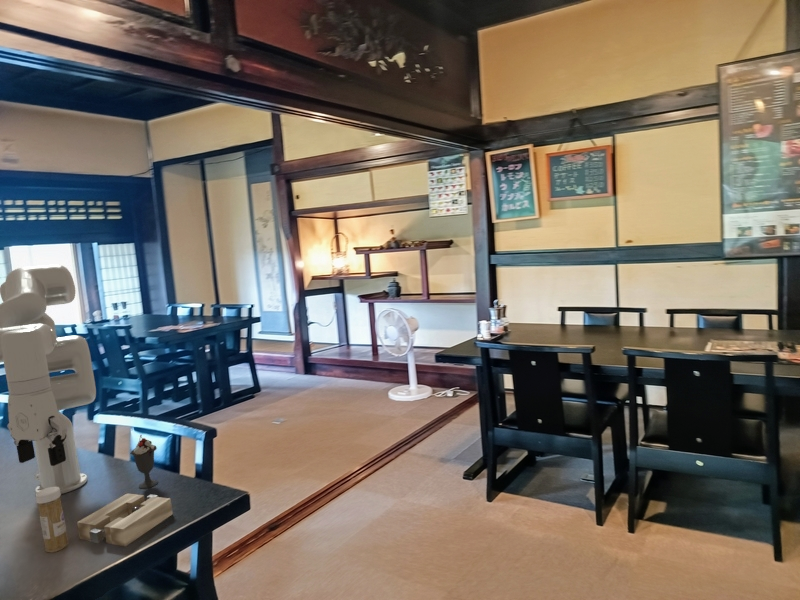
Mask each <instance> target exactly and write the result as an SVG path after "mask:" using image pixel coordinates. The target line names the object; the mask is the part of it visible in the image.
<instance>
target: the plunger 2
mask: <svg viewBox="0 0 800 600" xmlns="http://www.w3.org/2000/svg"><path fill="white" fill-rule="evenodd" d="M151 497H159V495H157V494H149V495H147V496H146V500H148V499H149V498H151ZM140 508H141V506H140V507H134V508H133V509H132V513H133V512H135V511H137V510H138V509H140Z"/></svg>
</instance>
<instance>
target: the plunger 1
mask: <svg viewBox="0 0 800 600" xmlns="http://www.w3.org/2000/svg"><path fill="white" fill-rule="evenodd" d="M113 521H114V520H113ZM89 533H90V539H91V541H90V543H95V544H100V543H101V542H103V541H104V538H103V534H104V533H105V529H103V530H98V529H93V530H91V531H90V532H89Z"/></svg>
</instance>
